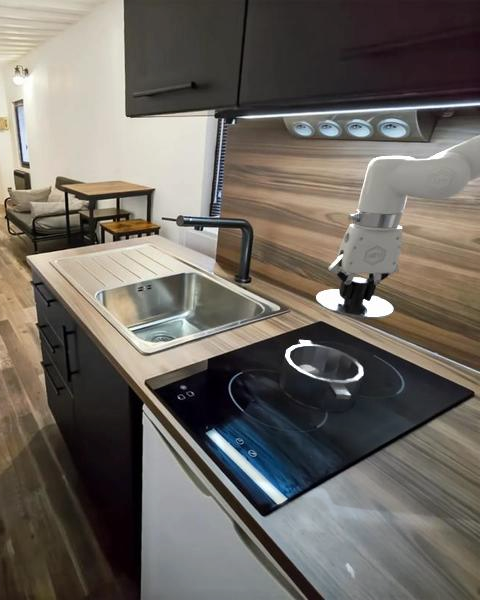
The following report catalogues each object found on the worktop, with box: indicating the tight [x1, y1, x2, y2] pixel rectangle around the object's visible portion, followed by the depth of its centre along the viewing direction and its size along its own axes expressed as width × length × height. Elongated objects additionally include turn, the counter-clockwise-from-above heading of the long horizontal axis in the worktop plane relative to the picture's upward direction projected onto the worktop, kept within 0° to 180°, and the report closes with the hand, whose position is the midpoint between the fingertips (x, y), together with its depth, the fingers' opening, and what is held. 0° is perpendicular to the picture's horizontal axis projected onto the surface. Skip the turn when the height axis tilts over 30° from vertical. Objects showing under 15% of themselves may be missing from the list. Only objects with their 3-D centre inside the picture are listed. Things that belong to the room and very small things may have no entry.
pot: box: [278, 339, 365, 414], centre depth 77 cm, size 14×19×8 cm
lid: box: [315, 276, 394, 320], centre depth 84 cm, size 15×15×7 cm
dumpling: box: [298, 364, 319, 376], centre depth 79 cm, size 7×5×4 cm
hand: (354, 297), depth 84 cm, fingers closed on lid, 3 cm apart
